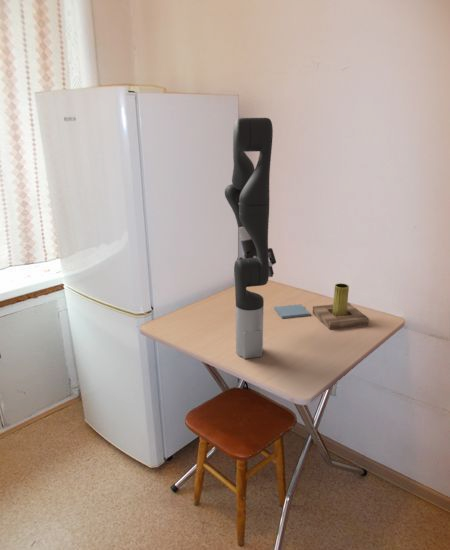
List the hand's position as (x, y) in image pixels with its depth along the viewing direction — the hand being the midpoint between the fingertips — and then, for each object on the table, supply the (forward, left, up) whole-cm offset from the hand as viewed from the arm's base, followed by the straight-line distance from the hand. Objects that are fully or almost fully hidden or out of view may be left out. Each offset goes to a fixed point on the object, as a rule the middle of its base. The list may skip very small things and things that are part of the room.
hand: (261, 279), depth 156 cm
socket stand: (+1, -33, -20) cm, 38 cm away
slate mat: (+12, -17, -20) cm, 29 cm away
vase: (+1, -33, -20) cm, 39 cm away
